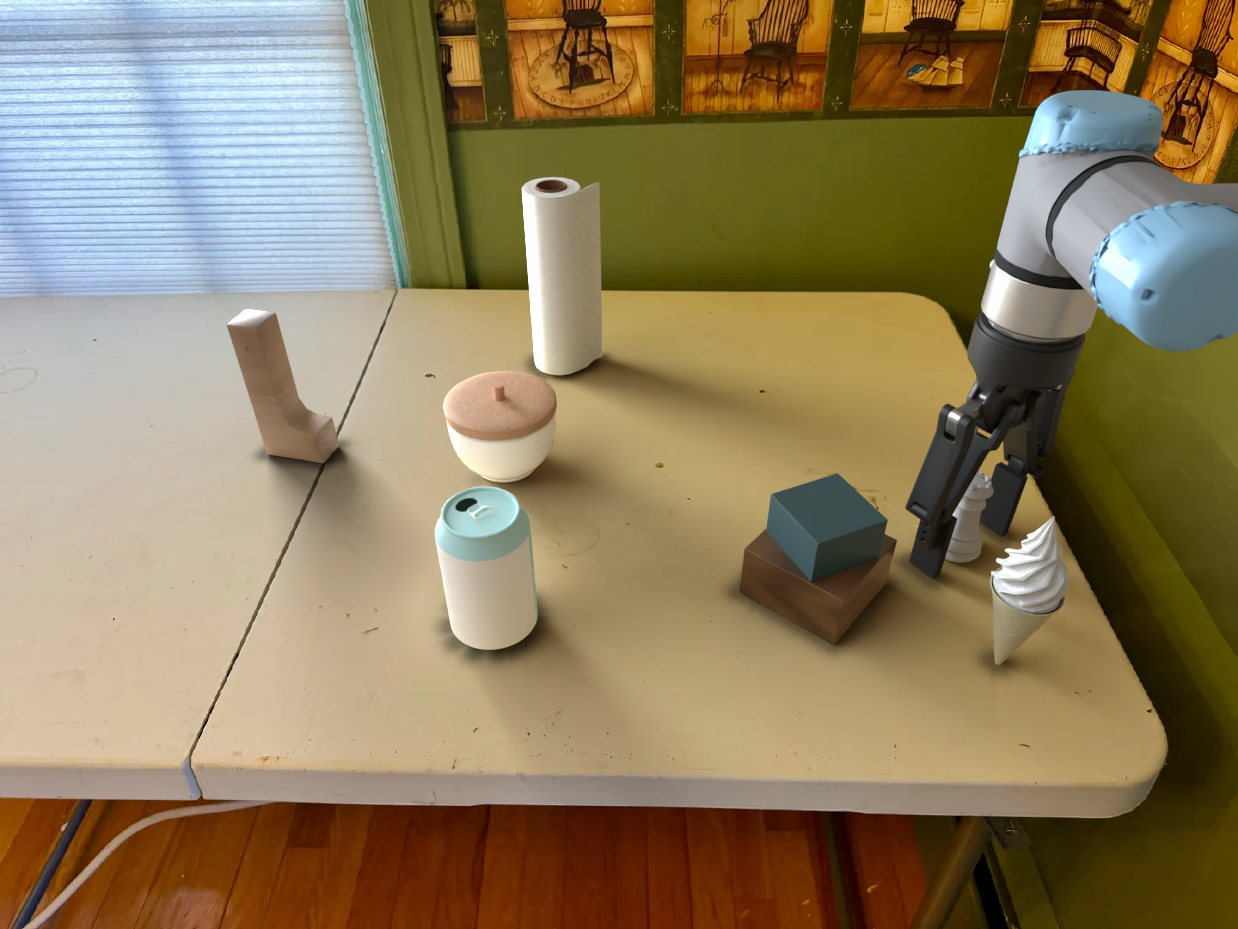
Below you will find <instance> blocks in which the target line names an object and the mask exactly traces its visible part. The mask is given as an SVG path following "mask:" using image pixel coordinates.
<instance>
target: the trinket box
mask: <svg viewBox="0 0 1238 929" xmlns="http://www.w3.org/2000/svg"><path fill="white" fill-rule="evenodd" d="M557 402H558V400H557V394H556V392H555V389H554V388H553V387H552V386H551V384H549V383H548V382H547V381H546V380H544V379H543V378H541V377H539V376H537V375H534V374H531V373H527V372H522V371H515V370H495V371H488V372H483V373H479V374H476V375H473V376H470V377H467V378H466V379H463V380H462V381H460V382H459V383H457V384H455V385H454V386H453V387H452V388H451V389H450V390H449V391H448V392H447V394H446V396H445V397H444V401H443V406H442V408H443V414H444V419H445V421H446V426H447V430H448V431H447V432H448V435H449V438H450V442H451V444H452V448H453V449H454V451H455V453H456V455H457V456H458V458H459V459H460V461H461V462H462V463H463V464H464V465H465V466H466V467H467V468H468V469H470V470H471V471H473V472H474V473H476V474H478V475H479V476H480V477H481V478H483V479H484V480H486V481H490V482H493V483H500V484H501V483H502V484H503V483H504V484H505V483H513V482H518V481H521V480H523V479H525V478H527V477H529V476H530V475H531V474H532V473H533V472H534V471H535V470H536V469H537V468H538V467H539V466H540V465H541V464H542V463H543V462H544V461H545V459H546V458H547V457H548V455H549V454H550V451H551V450H552V447H553V444H554V440H555V436H556V429H557V406H558V403H557Z"/></svg>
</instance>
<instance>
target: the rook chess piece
mask: <svg viewBox="0 0 1238 929" xmlns="http://www.w3.org/2000/svg"><path fill="white" fill-rule="evenodd" d="M991 478H992V476H990V475H989V474H987V475H985V471H983V470H981V469H979V470H978V472H977V474H976V475H975V477H974V479H973V481H972V482H971V484H970V486H969V487H968V489H967V491H966V493H965V494H964V496H963V498H962V499H961V501H960V503H959V505H958V506H957V508H956V510H955V512H954V513H953V516H954V517H956V518H957V522H956V525H955V528H954V531H953V535H952V538H951V541H950V544H949V547H948V551H947V554H946V557H945V560H944V561H948V562H950V563H955V564H965V563H966V564H967V563H969V562H972V561H974V560H975V559H978V558H979V556H980V555H981V553H982V547H983V545H984V541H983V540H984V539H983V533H982V529H981V527H980V515H981V512H982V510H983V509H984V508H985V507H986V501H985V499H987V498H989V497H991V496H992V494H993V493H994V491H993V487H992V485H991V484H992V482H991Z"/></svg>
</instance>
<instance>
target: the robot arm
mask: <svg viewBox="0 0 1238 929" xmlns="http://www.w3.org/2000/svg"><path fill="white" fill-rule="evenodd" d="M1164 122H1165V121H1164V116H1163V111H1162V109H1161V108H1160V107H1159V106H1158V105H1157V104H1155V103H1154V102H1153V101H1150V100H1148V99H1145V98H1142V97H1139V96H1136V95H1132V94H1128V93H1123V92H1117V91H1108V90H1092V89H1090V90H1089V89H1087V90H1085V89H1084V90H1083V89H1081V90H1068V91H1067V90H1066V91H1062V92H1059V93H1055V94H1053V95H1051V96H1049V97H1047V98H1046V99H1044V100H1043V101H1042V102H1041V103H1040V104H1039V106H1038V107H1037V108H1036V110H1035V112H1034V116H1033V119H1032V122H1031V125H1030V127H1029V128H1030V129H1029V132H1028V135H1027V138H1026V141H1025V143H1024V146H1023V148H1022V149H1020V150H1019V154H1018V158H1019V160H1018V164H1017V167H1016V171H1015V175H1014V179H1013V183H1012V187H1011V190H1010V195H1009V198H1008V202H1007V206H1006V210H1005V213H1004V218H1003V221H1002V225H1001V229H1000V233H999V236H998V241H997V246H996V248H995V253H994V254H993V259H992V260H991V261H990V263H989V269H990V271H989V274H988V279H987V282H986V285H985V289H984V293H983V295H982V299H981V302H980V307H981V311H979V312H978V313H977V315H976V319H975V322H974V324H973V329H972V332H971V336H970V339H969V342H968V343H969V344H968V347H967V351H966V355H967V359H968V362H969V363H970V365H971V368H972V370H973V371H974V373H975V376H976V379H975V381H974V382H973V385H972V386H971V388H970V390H969V391H968V394H967V396H966V401H965V402H964V403H963V404H961V405H960V406H958V407H955V406H954V405H952V404H951V403H945V404H944V405H943V406H942V407H941V409H940V410H939V411H938V418H937V424H936V429H935V433H934V435H933V438H932V440H931V443H930V445H929V447H928V450H927V453H926V455H925V458H924V460H923V463H922V465H921V467H920V470H919V472H918V475H917V477H916V479H915V482H914V484H913V487H912V489H911V492H910V494H909V496H908V499H907V502H906V504H905V510H906V511H907V512H909V513H910V514H912V515H914V517H916V518H917V519H919V523H918V527H917V530H916V534H915V538H914V540H913V541H914V542H913V545H912V548H911V552H910V555H909V560H908V562H909V563H911V564H912V565H913V566H914V567H916V568H917V569H919V570H920V571H922V573H924V574H926V575H927V576H928V577H930V578H931V579H933V580H935V579H937V578H939V577H940V576H941V574H942V573H941V572H942V570H943V567H944V563H945V561H946V560H945V557H946V554H947V551H948V547H949V544H950V541H951V538H952V535H953V531H954V528H955V525H956V522H957V518H956V517H954V516H953V513H954V512H955V510H956V508H957V506H958V505H959V503H960V501H961V499H962V498H963V496H964V494H965V493H966V491H967V489H968V487H969V486H970V484H971V482H972V481H973V479H974V477H975V475H976V474H978V471H979V470H980V469H981V467H982V465H983V463H984V462H985V460H986V459H987V457H988V455H989V453H990V452H992V451H993V452H994V451H997V450H998V449H999V448H1000V447H1001V446H1002V449H1003V461H1005V462H1007V464H1006V463H1005V462H1003V461H999V462H998V463H996V464H995V466H994V469H993V472H992V475H991V482H992V484H991V485H992V487H993V491H994V493H993V494H992V496H991V497H989V498H987V499H985V501H986V507H985V508H984V509H983V510H982V512H981V515H980V522H979V524H981V525H983V526H985V527H987V528H988V529H990V530H991V531H993V532H994V533H996V534H997V535H999V536H1001V537H1002V538H1003V537H1005V536H1006V535H1008V533H1009V531H1010V528H1011V525H1012V522H1013V521H1014V518H1015V515H1016V512H1017V509H1018V506H1019V503H1020V501H1021V498H1022V495H1023V492H1024V490H1025V488H1026V487H1025V486H1026V484H1027V481H1028V478H1029V477H1028V475H1030V476H1031V477H1033V478H1035V479H1039V478H1041V477H1042V475H1043V474H1044V472H1045V469H1046V467H1045V466H1043V465H1041V464H1039V463H1038V460H1041V461H1043V462H1045V461H1046V460H1048V459H1049V458H1050V456H1051V454H1052V452H1053V447H1054V443H1055V439H1056V435H1057V431H1058V428H1059V427H1058V426H1059V423H1060V418H1061V413H1062V410H1063V406H1064V402H1065V399H1066V398H1065V397H1066V392H1067V390H1068V388H1069V386H1070V384H1071V381H1072V379H1073V376H1074V374H1075V372H1076V366H1077V363H1078V361H1079V357H1080V354H1081V351H1082V348H1083V347H1084V344H1085V341H1086V333H1087V332H1088V331H1089V329H1091V327H1092V325H1093V321H1094V319H1095V316H1096V313H1097V310H1098V308H1100V310H1101V311H1102V312H1103V313H1104V314H1105V315H1106V316H1107V317H1108V318H1109V319H1111V320H1113V321H1114V322H1115V323H1116V324H1117V325H1119V326H1122V327H1124V328H1126V329H1127V330H1128V331H1129V332H1131V333H1132V334H1133V335H1134V336H1135V337H1136V338H1138V339H1139V340H1140V341H1141V342H1142V343H1145V344H1146V345H1148V346H1151V347H1153V348H1156V349H1158V350H1162V351H1169V352H1190V351H1196V350H1200V349H1204V347H1206V345H1208V344H1210V343H1213V342H1215V341H1218V340H1227V339H1228V338H1231V337H1232V336H1234V335H1235V334H1237V333H1238V182H1233V183H1232V182H1230V183H1229V182H1226V183H1225V182H1223V183H1221V182H1220V183H1196V182H1192V181H1191V182H1190V181H1186V180H1183V179H1182V178H1180V177H1179V176H1178V175H1175V174H1174V173H1173V172H1171V171H1169V170H1167V169H1166V168H1165V167H1163V166H1161V165H1160V164H1159V163H1158V162H1156V161H1155V160H1154V159H1153V158H1154V156H1155V155H1156V153H1158V152H1159V149H1160V145H1161V144H1160V139H1161V135H1162V132H1163V127H1164ZM979 430H981V431H983V432H985V433H987V434H988V435H990V436H989V437H988V436H987V435H986V434H983V433H982V432H980V431H979ZM1038 440H1039V441H1038ZM1001 444H1002V445H1001Z"/></svg>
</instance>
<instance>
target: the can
mask: <svg viewBox="0 0 1238 929" xmlns="http://www.w3.org/2000/svg"><path fill="white" fill-rule="evenodd" d="M531 528H532V527H531V520H530V517H529V515H528V513H527V511H526V510H525V509H524V508H523V507H522V506H521V505H520V502H519V500H518V498H517V497H516V496H515V495H514V494H512V493H511V492H510V491H508V490H506V489H503V488H500V487H496V486H487V485H483V486H482V485H481V486H473V487H469V488H466V489H463V490H461V491H459V492H457V493H455V494H453V495H452V496H451V497H450V498H448V499H447V500H446V501H445V503H444V504H443V505H442V507H441V510H440V517H439V518H438V520H437V522H436V524H435V527H434V539H435V545H436V550H437V557H438V562H439V568H440V574H441V578H442V579H441V580H442V584H443V591H444V596H445V601H446V602H445V603H446V607H447V612H448V613H447V614H448V618H449V623H450V628H451V631H452V633H453V634H454V636H455V638H456V639H458V640H459V641H460V642H461V643H462V644H464V645H466V646H468V647H471V648H474V649H478V650H484V651H485V650H487V651H491V650H501V649H506V648H508V647H511V646H513V645H515V644H517V643H519V642H521V641H522V640H524V639H525V638H526V637H527V636H529V635H530V633H531V632H532V631H533V629H534V628H535V626H536V624H537V622H538V617H539V609H538V598H537V586H536V574H535V573H536V572H535V564H534V563H535V562H534V551H533V541H532V529H531Z"/></svg>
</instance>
